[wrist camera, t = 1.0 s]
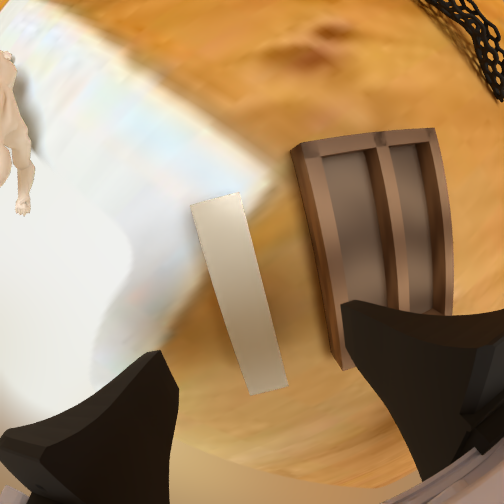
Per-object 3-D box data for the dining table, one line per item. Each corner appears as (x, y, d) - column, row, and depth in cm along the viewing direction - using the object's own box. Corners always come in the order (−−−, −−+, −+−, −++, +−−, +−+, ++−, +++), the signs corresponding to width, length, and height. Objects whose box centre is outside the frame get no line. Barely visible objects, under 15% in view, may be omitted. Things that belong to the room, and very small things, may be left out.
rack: (433, 309, 21) (451, 321, 19) (331, 352, 21) (343, 371, 18) (413, 133, 18) (434, 127, 15) (290, 150, 18) (300, 142, 15)
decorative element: (502, 90, 18) (532, 83, 12) (494, 107, 18) (529, 100, 12) (380, -43, 13) (399, -67, 8) (360, -38, 14) (380, -66, 8)
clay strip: (276, 347, 21) (288, 385, 16) (245, 355, 21) (250, 395, 16) (236, 193, 18) (239, 192, 13) (200, 203, 18) (190, 205, 13)
